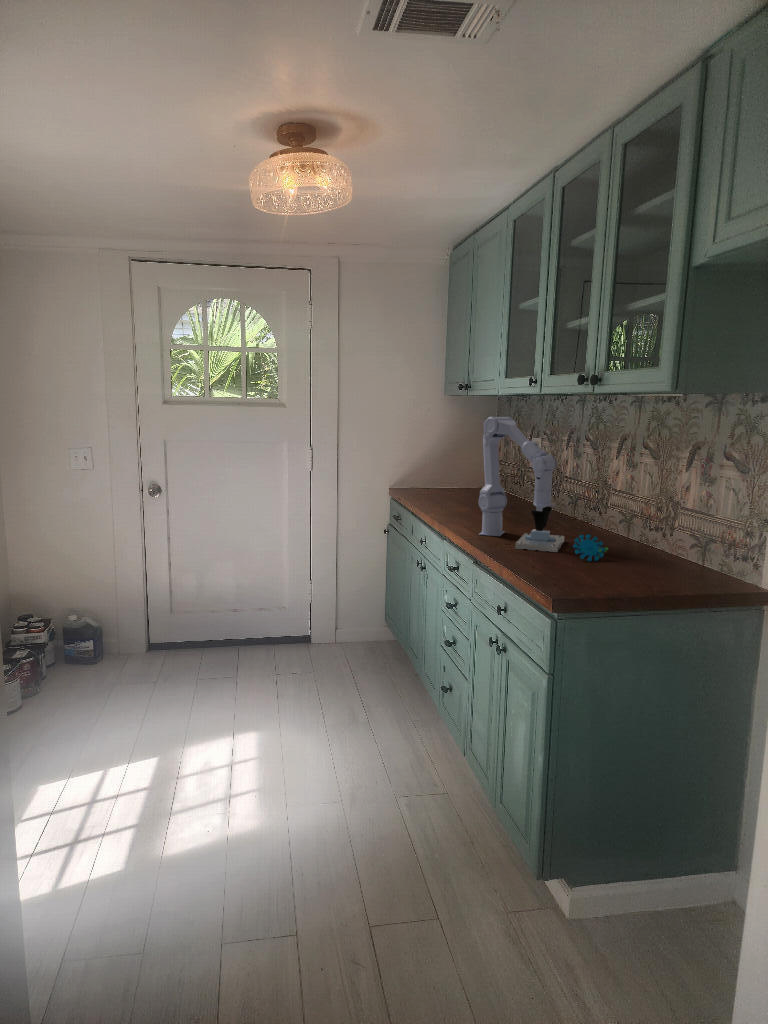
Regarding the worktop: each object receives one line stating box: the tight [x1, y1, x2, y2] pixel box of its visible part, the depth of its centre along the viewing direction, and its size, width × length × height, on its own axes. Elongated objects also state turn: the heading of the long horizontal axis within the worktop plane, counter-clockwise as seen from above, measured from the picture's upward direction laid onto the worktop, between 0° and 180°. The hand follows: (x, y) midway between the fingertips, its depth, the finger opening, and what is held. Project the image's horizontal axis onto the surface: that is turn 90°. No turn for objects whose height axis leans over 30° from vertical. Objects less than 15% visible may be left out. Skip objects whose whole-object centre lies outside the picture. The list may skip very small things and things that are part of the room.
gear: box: [572, 533, 609, 562], centre depth 218 cm, size 11×6×10 cm
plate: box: [514, 532, 565, 553], centre depth 238 cm, size 20×14×2 cm
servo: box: [525, 528, 555, 542], centre depth 238 cm, size 4×10×5 cm, turn 69°
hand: (540, 528), depth 237 cm, fingers open, 7 cm apart
